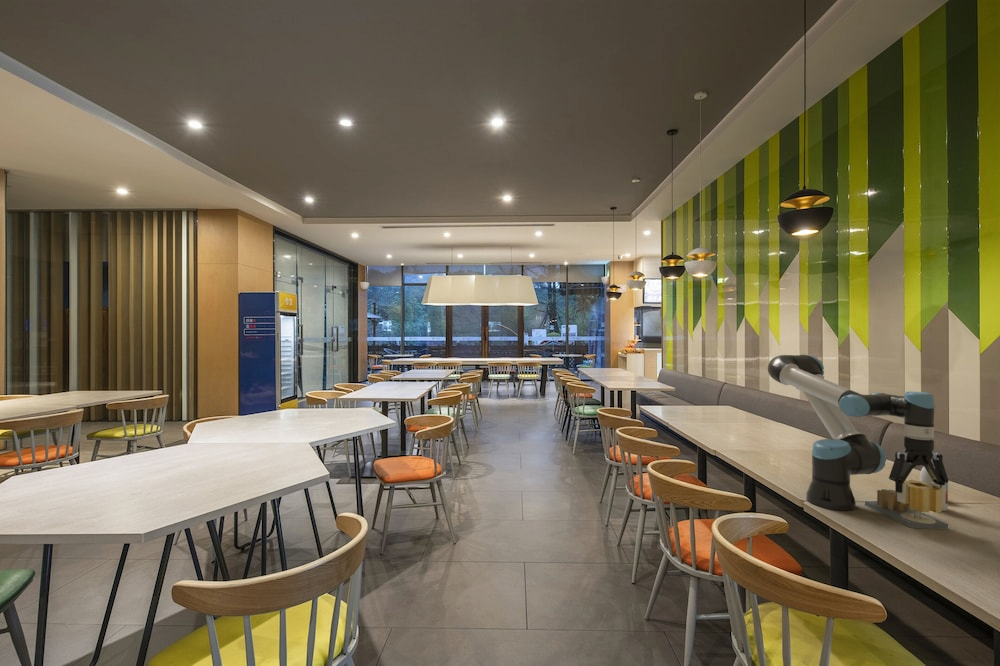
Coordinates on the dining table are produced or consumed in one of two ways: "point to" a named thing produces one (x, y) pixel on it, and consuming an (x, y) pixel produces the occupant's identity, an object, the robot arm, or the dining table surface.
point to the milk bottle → (926, 478)
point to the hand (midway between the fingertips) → (918, 502)
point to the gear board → (902, 511)
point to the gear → (922, 496)
